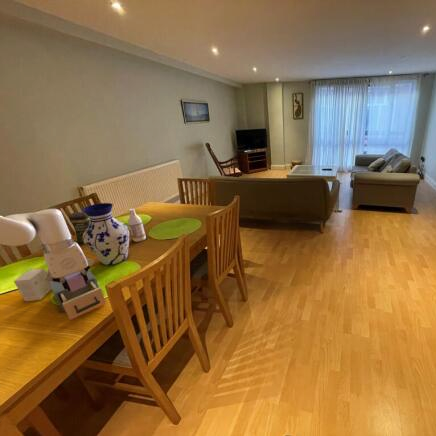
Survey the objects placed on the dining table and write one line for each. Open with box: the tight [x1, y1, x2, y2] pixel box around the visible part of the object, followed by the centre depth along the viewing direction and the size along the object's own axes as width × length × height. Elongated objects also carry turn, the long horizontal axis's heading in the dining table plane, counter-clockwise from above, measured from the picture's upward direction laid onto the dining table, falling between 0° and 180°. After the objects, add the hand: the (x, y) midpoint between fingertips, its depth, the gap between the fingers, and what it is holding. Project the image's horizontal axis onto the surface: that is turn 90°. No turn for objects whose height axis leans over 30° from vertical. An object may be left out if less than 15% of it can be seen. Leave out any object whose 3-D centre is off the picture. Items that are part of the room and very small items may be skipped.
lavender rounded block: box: [65, 272, 86, 292], centre depth 90 cm, size 4×4×4 cm
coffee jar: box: [68, 211, 90, 244], centre depth 145 cm, size 10×8×19 cm
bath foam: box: [127, 208, 147, 243], centre depth 145 cm, size 7×7×20 cm
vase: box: [81, 202, 131, 266], centre depth 122 cm, size 19×19×30 cm
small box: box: [13, 268, 52, 302], centre depth 100 cm, size 8×6×10 cm
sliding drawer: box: [59, 281, 107, 321], centre depth 93 cm, size 18×11×7 cm, turn 52°
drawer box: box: [48, 269, 100, 313], centre depth 100 cm, size 15×13×9 cm
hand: (77, 285), depth 91 cm, fingers closed on lavender rounded block, 4 cm apart
